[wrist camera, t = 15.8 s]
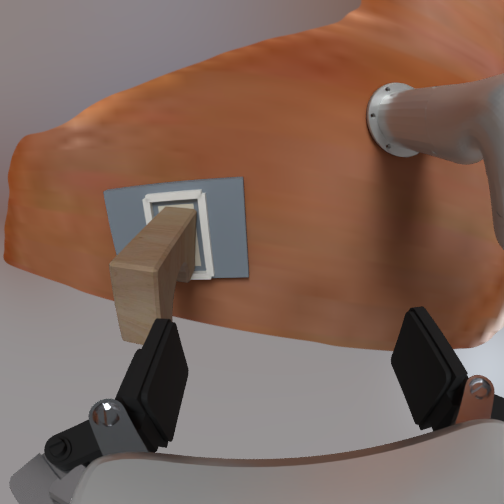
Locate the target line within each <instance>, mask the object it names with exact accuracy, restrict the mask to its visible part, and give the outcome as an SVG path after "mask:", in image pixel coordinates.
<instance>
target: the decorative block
mask: <svg viewBox="0 0 504 504" xmlns="http://www.w3.org/2000/svg"><path fill="white" fill-rule="evenodd" d="M196 215H197V211H196V210H195V209H189V208H178V207H167V206H166V207H165V208H164V209H163V210H161V211H160V212H159V213H158V214H157V215H156V216H155V217H154V218H153V219H152V220H151V221H150V222H149V223H148V224H147V225H146V226H145V227H144V228H143V229H142V230H141V231H140V232H139V233H138V234H137V235H136V236H135V237H134V238H133V239H132V240H131V241H130V242H129V243H128V244H127V245H126V246H125V247H124V248H123V250H122V251H121V252H120V253H119V254H118V255H117V256H116V257H115V258H114V259H113V260H112V261H111V262H110V264H109V268H110V276H111V283H112V289H113V295H114V301H115V307H116V311H117V316H118V322H119V326H120V331H121V335H122V339H123V340H124V341H127V342H132V343H136V344H142V345H144V343H145V340H146V338H147V336H148V334H149V332H150V329H151V327H152V325H153V323H154V321H155V319H157V318H163V319H171V321H172V308H173V299H174V291H175V286H176V281H179V282H187V283H188V282H189V281H190V279H191V277H192V274H193V272H194V269H195V242H196Z"/></svg>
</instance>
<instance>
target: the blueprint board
mask: <svg viewBox="0 0 504 504" xmlns="http://www.w3.org/2000/svg"><path fill="white" fill-rule="evenodd" d="M103 193H104V198H105V204H106V209H107V214H108V219H109V224H110V228H111V233H112V237H113V242H114V246H115V250H116V254H117V255H118V254H119V253H120V252H121V251H122V250H123V248H124V247H125V246H126V245H127V244H128V243H129V242H130V241H131V240H132V239H133V238H134V237H135V236H136V235H137V234H138V233H139V232H140V231H141V230H142V229H143V228H144V227H145V226H146V225H147V224H148V223H149V222H150V221H151V220H152V219H153V218H154V217H155V216H156V215H157V214H158V213H159V212H160V211H161V210H163V209H164V208H165V207H166V206H167V207H178V208H189V209H195V210H196V211H197V215H196V242H195V269H194V272H193V274H192V277H191V279H190V280H210V279H211V278H237V277H249V265H248V249H247V232H246V216H245V199H244V181H243V177H230V178H214V179H200V180H188V181H177V182H166V183H157V184H148V185H139V186H131V187H124V188H116V189H109V190H106V191H104V192H103Z"/></svg>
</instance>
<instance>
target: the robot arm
mask: <svg viewBox="0 0 504 504" xmlns="http://www.w3.org/2000/svg"><path fill="white" fill-rule="evenodd" d="M385 89H387V91H386V90H385ZM371 115H372V118H371ZM366 118H367V124H368V128H369V131H370V133H371V135H372V137H373V139H374V140H375V141H376V143H377V144H378V145H379V146H380V147H381V148H382V149H383V150H385V151H386V152H388V153H390V154H392V155H395V156H399V157H411V156H414V155H417V154H418V153H420V152H421V153H424V154H428V155H431V156H435V157H438V158H442V159H445V160H448V161H451V162H455V163H458V164H464V165H468V164H474V163H477V162H479V161H481V160H482V159H483V160H484V164H485V169H486V174H487V177H488V183H489V190H490V197H491V206H492V216H493V225H494V231H495V235H496V238H497V241H498V243H499V244H500V246H501V247H502V248H503V250H504V74H500V75H496V76H493V77H489V78H486V79H483V80H479V81H474V82H469V83H463V84H454V85H444V86H435V87H426V88H418V89H414V88H413V87H411V86H409V85H406V84H403V83H390V84H386V85H384V86H382V87H380V88H378V89H377V90H376V91H375V92H374V93H373V95H372V96H371V98H370V100H369V102H368V106H367V117H366ZM386 145H387V148H386ZM391 364H392V367H393V369H394V372H395V374H396V376H397V379H398V381H399V384H400V386H401V388H402V391H403V393H404V396H405V398H406V401H407V403H408V406H409V409H410V411H411V414H412V417H413V419H414V422H415V424H417V425H419V427H420V430H423V429H427V428H430V427H432V429H433V432H430V433H427V434H423V435H420V436H416V437H413V438H409V439H406V440H402V441H398V442H394V443H390V444H385V445H382V446H376V447H372V448H367V449H361V450H356V451H350V452H344V453H337V454H329V455H322V456H312V457H300V458H284V459H222V458H205V457H204V458H203V457H192V456H182V455H173V454H162V453H155V452H156V451H157V449H158V446H159V447H165V448H167V445H168V441H170V442H171V441H172V440H173V436H174V432H175V427H176V423H177V419H178V415H179V410H180V406H181V402H182V398H183V394H184V390H185V386H186V382H187V378H188V366H187V363H186V359H185V356H184V352H183V349H182V345H181V341H180V338H179V334H178V330H177V326H176V324H175V323H173V322H172V321H171V319H163V318H157V319H155V321H154V323H153V325H152V327H151V329H150V332H149V334H148V336H147V338H146V340H145V343H144V345H143V347H142V349H138V350H137V351H136V353H135V355H134V357H133V359H132V361H131V364H130V366H129V368H128V371H127V372H126V375H125V377H124V379H123V382H122V384H121V386H120V389H119V391H118V393H117V396H116V398H115V400H114V399H104V400H100V401H99V402H97V403H95V404H94V406H92V408H91V410H90V411H89V420H87V421H85V422H83V423H81V424H78V425H77V426H74V427H72V428H70V429H68V430H65V431H63V432H61V433H58V434H56V435H54V436H52V437H51V438H50V439H49V440H48V441H47V442H46V445H45V449H44V451H45V453H44V454H43V455H41V454H40V453H39V454H38V455H37V456H35V457H34V458H33V459H32V460H30V461H29V462H28V463H27V464H26V465H24V466H23V467H22V468H21V469H20V470H18V471H17V472H16V473H15V474H13V476H12V477H11V479H10V489H11V491H12V493H13V495H14V497H15V498H16V500H17V501H18V502H19V504H504V398H502V397H500V396H498V395H495V394H494V387H493V384H492V383H491V381H490V380H489V379H487V378H486V377H484V376H481V375H474V376H472V377H470V378H468V376H467V371H466V370H465V368H464V366H463V365H462V363H461V361H460V360H459V358H458V357H457V355H456V353H455V352H454V350H453V349H452V347H451V346H450V344H449V342H448V341H447V339H446V338H445V336H444V335H443V333H442V332H441V330H440V329H439V328H438V326H437V325H436V323H435V322H434V320H433V319H432V317H431V316H430V315H429V313H428V312H427V310H426V309H425V308H424V307H414V308H410V310H409V312H407V313H406V314H405V318H404V321H403V324H402V327H401V330H400V334H399V337H398V340H397V343H396V345H395V348H394V351H393V354H392V357H391ZM71 498H72V500H71ZM70 501H71V503H70Z"/></svg>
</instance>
